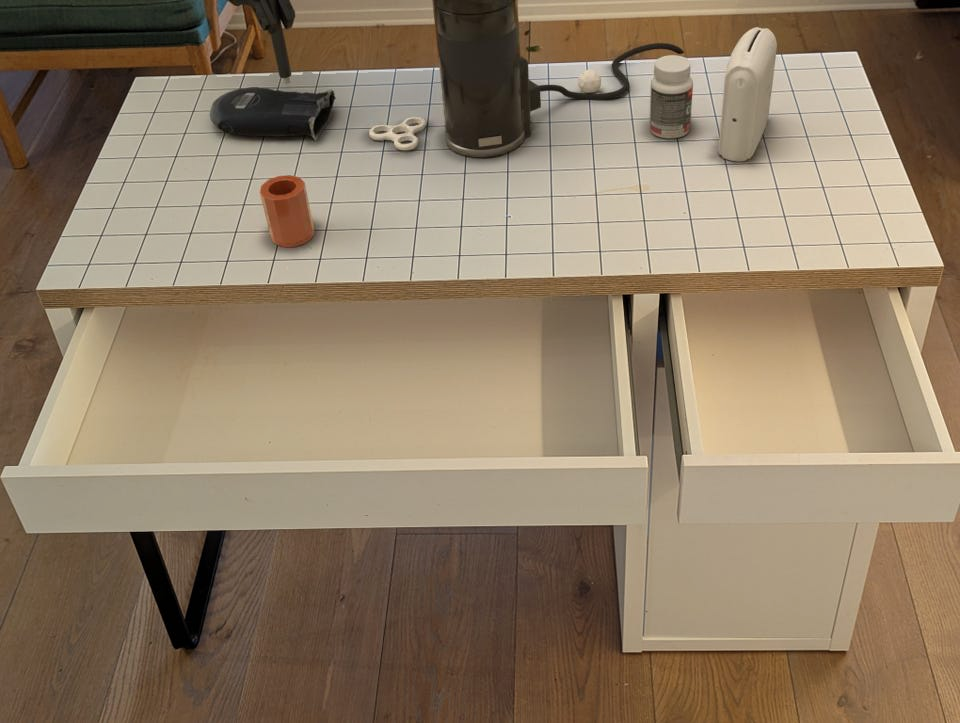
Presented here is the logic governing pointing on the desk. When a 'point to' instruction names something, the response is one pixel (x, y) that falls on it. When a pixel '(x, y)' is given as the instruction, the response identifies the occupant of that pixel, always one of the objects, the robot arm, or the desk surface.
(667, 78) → the pill bottle
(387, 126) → the fidget spinner
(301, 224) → the pen holder
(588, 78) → the polyhedron
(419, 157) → the desk surface
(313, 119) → the electronic device
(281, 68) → the dark grey rod
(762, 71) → the photo printer
